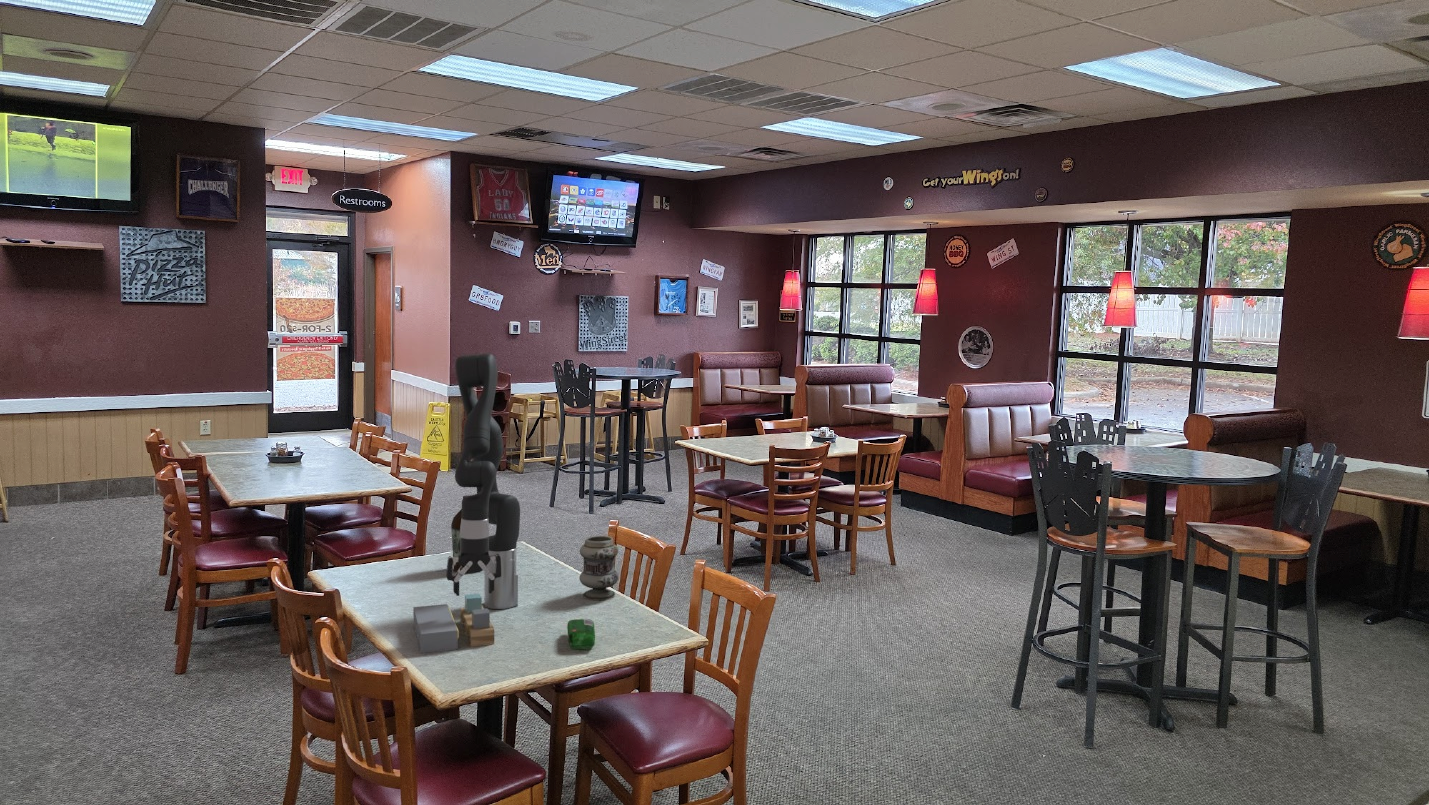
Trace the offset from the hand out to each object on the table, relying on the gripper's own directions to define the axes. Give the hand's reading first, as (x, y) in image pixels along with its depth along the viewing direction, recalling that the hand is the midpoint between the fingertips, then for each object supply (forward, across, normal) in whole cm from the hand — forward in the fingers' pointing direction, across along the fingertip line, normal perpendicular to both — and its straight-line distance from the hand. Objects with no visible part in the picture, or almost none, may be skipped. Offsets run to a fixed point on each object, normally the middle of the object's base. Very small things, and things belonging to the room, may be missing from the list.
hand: (473, 594), depth 257 cm
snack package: (+11, -26, +16) cm, 32 cm away
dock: (+11, +10, 0) cm, 15 cm away
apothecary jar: (+10, -40, -23) cm, 48 cm away
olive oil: (+10, -5, -63) cm, 64 cm away
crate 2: (+7, -1, +7) cm, 10 cm away
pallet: (+11, -1, 0) cm, 11 cm away
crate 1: (+7, -1, -7) cm, 10 cm away
